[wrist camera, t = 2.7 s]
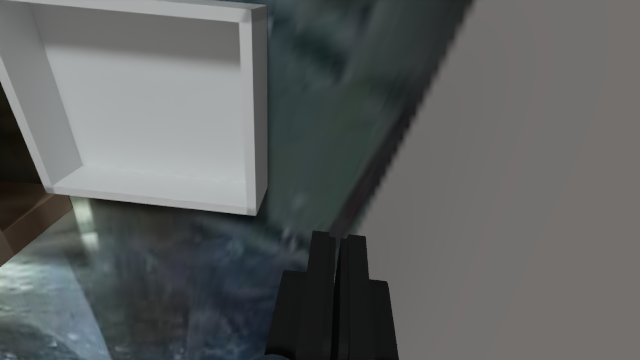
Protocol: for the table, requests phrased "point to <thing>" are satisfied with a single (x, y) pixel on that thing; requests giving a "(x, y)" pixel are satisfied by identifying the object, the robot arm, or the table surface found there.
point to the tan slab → (26, 214)
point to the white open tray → (141, 98)
